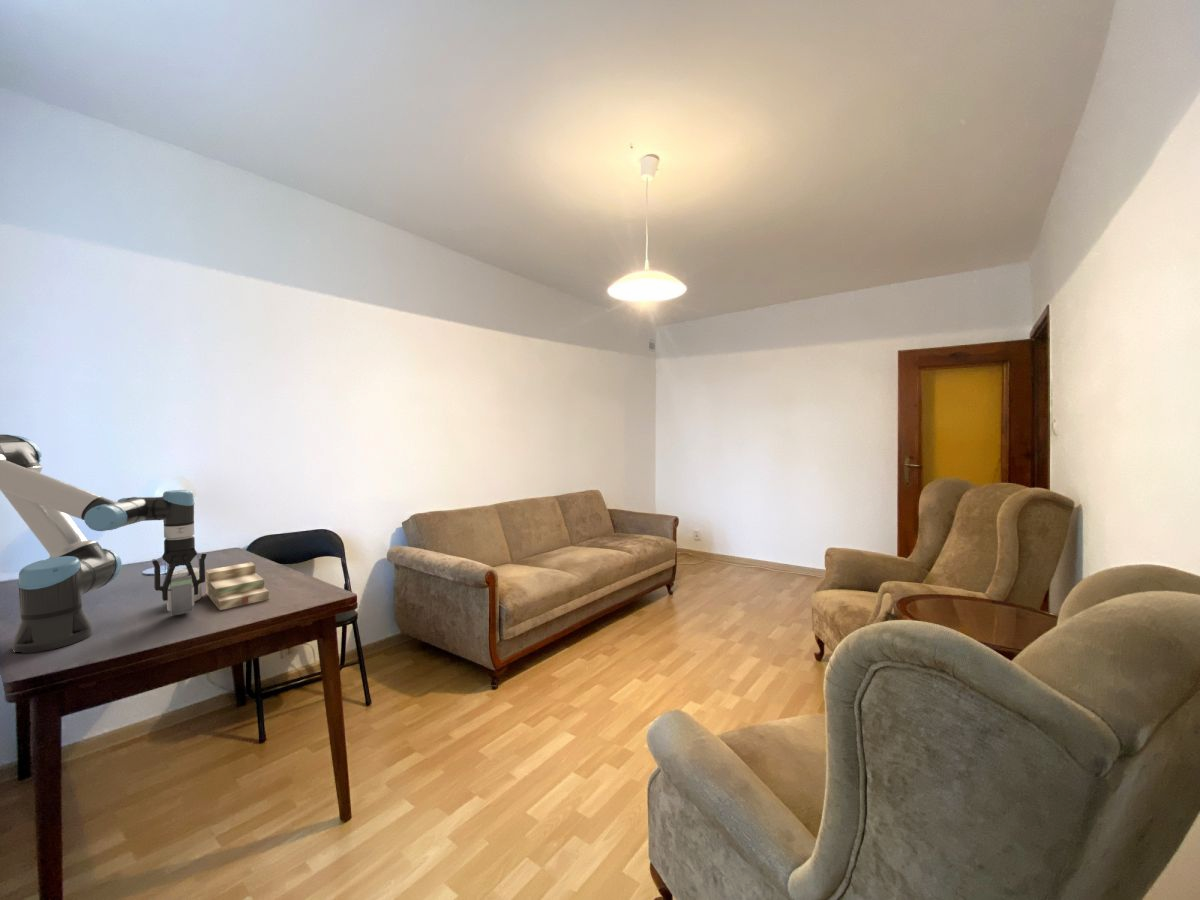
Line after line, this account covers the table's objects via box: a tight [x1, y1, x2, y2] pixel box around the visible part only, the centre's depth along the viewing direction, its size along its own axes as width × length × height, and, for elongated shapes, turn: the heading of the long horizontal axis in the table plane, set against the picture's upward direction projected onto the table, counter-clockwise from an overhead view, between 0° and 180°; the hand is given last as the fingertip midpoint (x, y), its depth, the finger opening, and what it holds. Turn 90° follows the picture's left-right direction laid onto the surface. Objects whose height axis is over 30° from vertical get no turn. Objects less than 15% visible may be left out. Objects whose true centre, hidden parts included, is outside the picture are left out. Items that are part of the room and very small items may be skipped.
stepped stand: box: [205, 561, 270, 611], centre depth 173 cm, size 14×24×9 cm, turn 48°
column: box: [168, 572, 193, 616], centre depth 156 cm, size 5×5×12 cm
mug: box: [173, 567, 203, 602], centre depth 169 cm, size 9×12×11 cm
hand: (180, 607), depth 156 cm, fingers closed on column, 5 cm apart
